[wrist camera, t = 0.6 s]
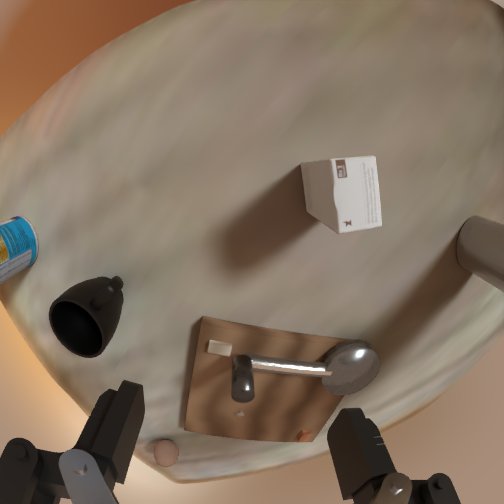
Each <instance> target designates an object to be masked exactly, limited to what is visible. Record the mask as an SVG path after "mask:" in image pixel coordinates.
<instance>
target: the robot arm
mask: <svg viewBox="0 0 504 504" xmlns="http://www.w3.org/2000/svg"><path fill="white" fill-rule="evenodd" d="M457 259H458V261H459V263H460V265H461V266H462V267H463V268H465V269H467V270H468V271H470V272H472V273H474V274H475V275H477V276H478V277H480V278H482V279H483V280H485V281H487V282H488V283H490V284H491V285H493V286H495V287H496V288H498V289H499V290H501V291H503V292H504V225H503V224H500V223H497V222H495V221H492V220H489V219H486V218H483V217H480V216H473V217H471V218H469V219H468V220H467V221H466V223H465V224H464V225H463V227H462V229H461V231H460V234H459V237H458V241H457ZM144 414H145V405H144V394H143V386H142V385H141V384H137V383H133V382H130V381H126V380H124V381H123V382H122V383H121V385H120V387H119V389H118V391H115V390H112V389H108V390H107V391H106V392H104V393H103V394H102V395H101V396H100V397H99V399H98V401H97V403H96V405H95V408H94V409H93V411H92V412H91V416H89V418H88V420H87V422H86V425H85V427H84V429H83V431H82V433H81V435H80V437H79V439H78V441H77V443H76V445H75V446H74V447H73V448H72V449H70V450H67V451H65V452H62V453H57V452H56V453H55V452H50V451H45V450H40V449H36V448H35V446H34V445H33V444H32V443H31V442H30V441H28V440H26V439H24V438H14V439H12V440H10V441H9V442H8V443H7V445H6V447H5V449H4V451H3V453H2V455H1V457H0V504H59V502H60V498H67V499H71V501H72V503H73V504H119V502H118V500H117V498H116V497H115V495H114V493H113V489H114V486H115V483H116V482H118V483H121V484H124V481H125V478H126V474H127V471H128V467H129V464H130V461H131V458H132V454H133V451H134V448H135V445H136V441H137V438H138V435H139V432H140V429H141V426H142V423H143V419H144ZM327 441H328V445H329V448H330V452H331V456H332V459H333V463H334V467H335V471H336V474H337V478H338V481H339V486H340V489H341V493H342V497H343V500H348V499H353V501H354V503H353V504H461V503H460V500H459V498H458V496H457V493H456V491H455V489H454V486H453V484H452V481H451V479H450V478H449V477H448V476H447V475H445V474H443V473H437V474H434V475H432V476H431V477H430V478H429V479H428V480H410V479H409V477H408V476H406V475H405V474H403V473H398V472H397V471H396V469H395V467H394V464H393V462H392V460H391V457H390V455H389V453H388V450H387V448H386V446H385V445H384V441H383V439H382V437H381V435H380V432H379V430H378V428H377V426H376V425H375V424H374V423H373V422H372V421H371V420H370V419H369V418H367V419H366V418H365V416H364V413H363V411H362V410H361V409H360V408H343V409H342V410H341V411H340V412H339V414H338V416H337V417H336V419H335V420H334V422H333V423H332V425H331V427H330V428H329V430H328V434H327Z"/></svg>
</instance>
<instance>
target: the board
mask: <svg viewBox="0 0 504 504" xmlns="http://www.w3.org/2000/svg"><path fill="white" fill-rule="evenodd" d="M350 340H351V339H342V338H333V337H324V336H317V335H309V334H302V333H295V332H288V331H281V330H275V329H269V328H263V327H257V326H251V325H246V324H240V323H235V322H230V321H225V320H220V319H215V318H210V317H205V316H203V318H202V322H201V327H200V333H199V338H198V344H197V350H196V356H195V362H194V368H193V374H192V380H191V387H190V393H189V400H188V406H187V413H186V420H185V428H184V430H185V431H190V432H196V433H201V434H207V435H214V436H221V437H228V438H237V439H246V440H258V441H275V442H313V440H314V439H315V438H316V436H317V435H318V433H319V432H320V431H321V429H322V428H323V426H324V425H325V423H326V422H327V421H328V419H329V418H330V416H331V415H332V413H333V412H334V410H335V409H336V407H337V406H338V404H339V402H340V401H341V399H342V398H343V396H344V395H333V394H331V393H329V392H327V391H326V390H325V389H324V387H323V384H322V381H321V378H320V377H314V376H302V375H291V374H282V373H273V372H265V371H257V370H253V377H254V391H255V397H254V399H253V400H252V401H250V402H247V403H238V402H236V401H234V400H233V399H232V397H231V380H232V360H233V358H234V357H236V356H238V355H243V354H244V353H248V354H254V355H261V356H268V357H275V358H283V359H291V360H300V361H309V362H321V360H322V358H323V357H324V356H325V355H326V353H327V352H328V351H330V350H331V349H332V348H333V347H335V346H337V345H339V344H341V343H343V342H346V341H350Z"/></svg>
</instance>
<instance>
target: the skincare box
mask: <svg viewBox="0 0 504 504" xmlns="http://www.w3.org/2000/svg"><path fill="white" fill-rule="evenodd" d="M301 171H302V179H303V186H304V194H305V202H306V210H307V212H308V213H309V214H311V215H312V216H313V217H315V218H316V219H318V220H319V221H321V222H322V223H323V224H325V225H326V226H328V227H329V228H330V229H332V230H333V231H335V232H336V233H337V234H341V233H346V232H352V231H358V230H364V229H370V228H376V227H381V226H382V221H381V207H380V195H379V184H378V175H377V167H376V158H375V156H361V157H348V158H334V159H327V160H320V161H313V162H306V163H301Z"/></svg>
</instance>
